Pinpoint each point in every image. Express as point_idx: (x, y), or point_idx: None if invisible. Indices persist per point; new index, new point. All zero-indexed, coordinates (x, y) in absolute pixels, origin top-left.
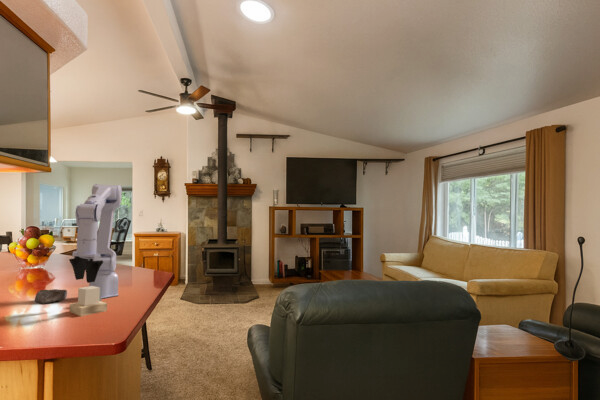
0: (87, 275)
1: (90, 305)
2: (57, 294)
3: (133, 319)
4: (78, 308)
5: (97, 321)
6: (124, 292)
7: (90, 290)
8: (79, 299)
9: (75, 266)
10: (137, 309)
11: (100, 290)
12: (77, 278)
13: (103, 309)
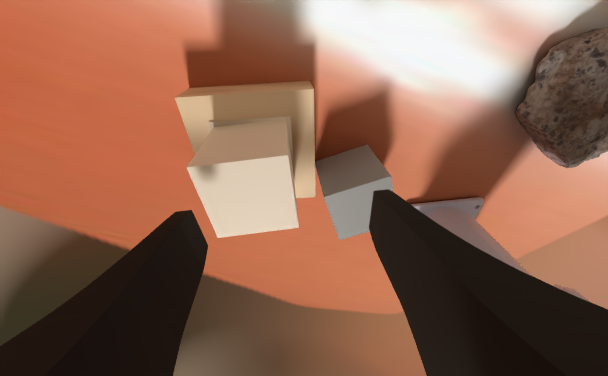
0: (123, 257)
1: None
2: (556, 114)
3: (38, 206)
4: (208, 94)
5: (54, 109)
6: None
7: (202, 190)
8: (269, 128)
9: (454, 291)
10: None
11: (344, 238)
12: (375, 201)
13: None
